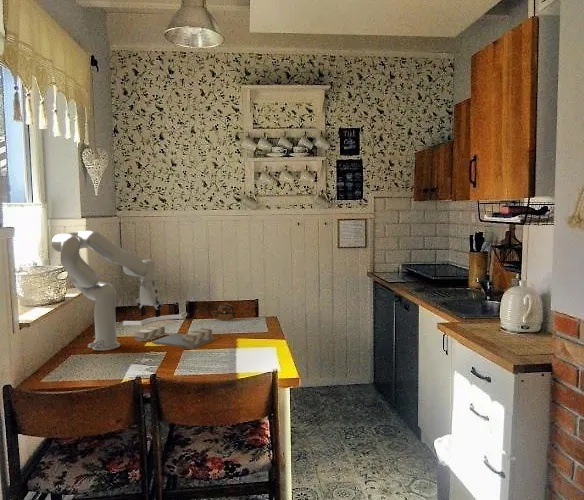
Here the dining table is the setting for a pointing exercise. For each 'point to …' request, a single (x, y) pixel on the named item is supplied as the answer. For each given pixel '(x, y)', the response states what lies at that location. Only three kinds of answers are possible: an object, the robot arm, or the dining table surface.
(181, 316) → the molding
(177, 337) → the floor panel
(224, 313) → the wooden carving
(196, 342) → the fixed plank
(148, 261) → the robot arm
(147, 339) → the ash plank
